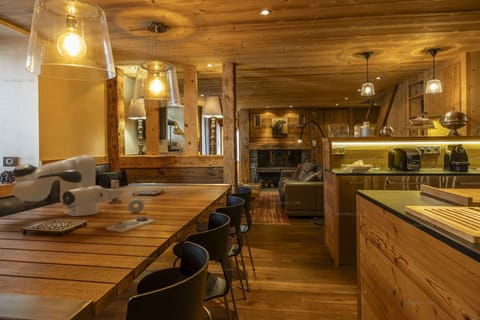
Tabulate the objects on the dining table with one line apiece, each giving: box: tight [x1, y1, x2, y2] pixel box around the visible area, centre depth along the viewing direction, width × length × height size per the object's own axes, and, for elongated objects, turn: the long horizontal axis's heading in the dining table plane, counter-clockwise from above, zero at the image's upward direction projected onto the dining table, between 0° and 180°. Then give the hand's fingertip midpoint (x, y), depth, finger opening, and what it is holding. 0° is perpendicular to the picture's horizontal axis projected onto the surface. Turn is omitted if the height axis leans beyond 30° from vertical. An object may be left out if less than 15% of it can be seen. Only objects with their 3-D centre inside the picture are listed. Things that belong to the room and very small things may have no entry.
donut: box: [127, 197, 145, 214], centre depth 196 cm, size 10×4×10 cm, turn 104°
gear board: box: [105, 215, 156, 233], centre depth 165 cm, size 12×24×4 cm, turn 154°
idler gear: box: [108, 179, 123, 206], centre depth 170 cm, size 7×7×14 cm
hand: (116, 190), depth 170 cm, fingers closed on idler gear, 4 cm apart
